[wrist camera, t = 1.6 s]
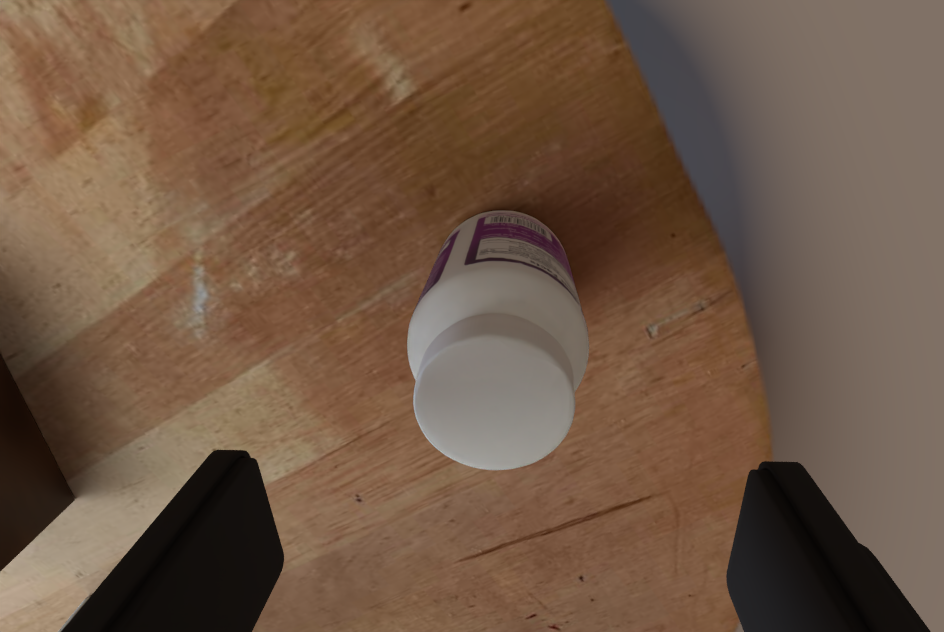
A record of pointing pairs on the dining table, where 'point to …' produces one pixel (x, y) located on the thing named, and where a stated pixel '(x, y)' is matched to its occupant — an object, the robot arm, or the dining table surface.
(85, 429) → the dining table surface
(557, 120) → the dining table surface
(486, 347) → the pill bottle
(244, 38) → the dining table surface
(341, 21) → the dining table surface
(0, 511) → the brown open box
